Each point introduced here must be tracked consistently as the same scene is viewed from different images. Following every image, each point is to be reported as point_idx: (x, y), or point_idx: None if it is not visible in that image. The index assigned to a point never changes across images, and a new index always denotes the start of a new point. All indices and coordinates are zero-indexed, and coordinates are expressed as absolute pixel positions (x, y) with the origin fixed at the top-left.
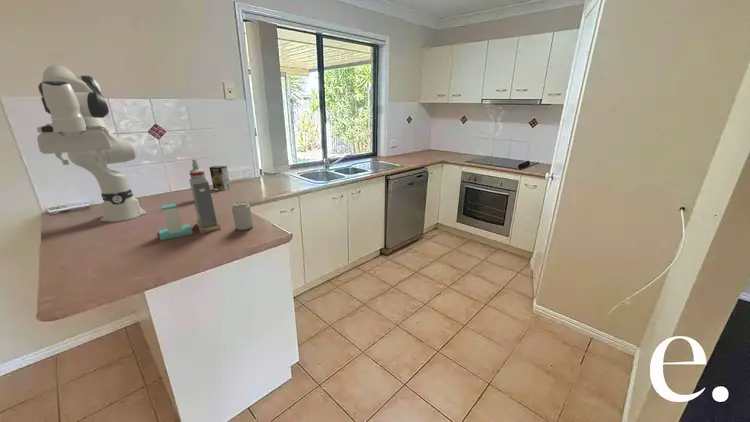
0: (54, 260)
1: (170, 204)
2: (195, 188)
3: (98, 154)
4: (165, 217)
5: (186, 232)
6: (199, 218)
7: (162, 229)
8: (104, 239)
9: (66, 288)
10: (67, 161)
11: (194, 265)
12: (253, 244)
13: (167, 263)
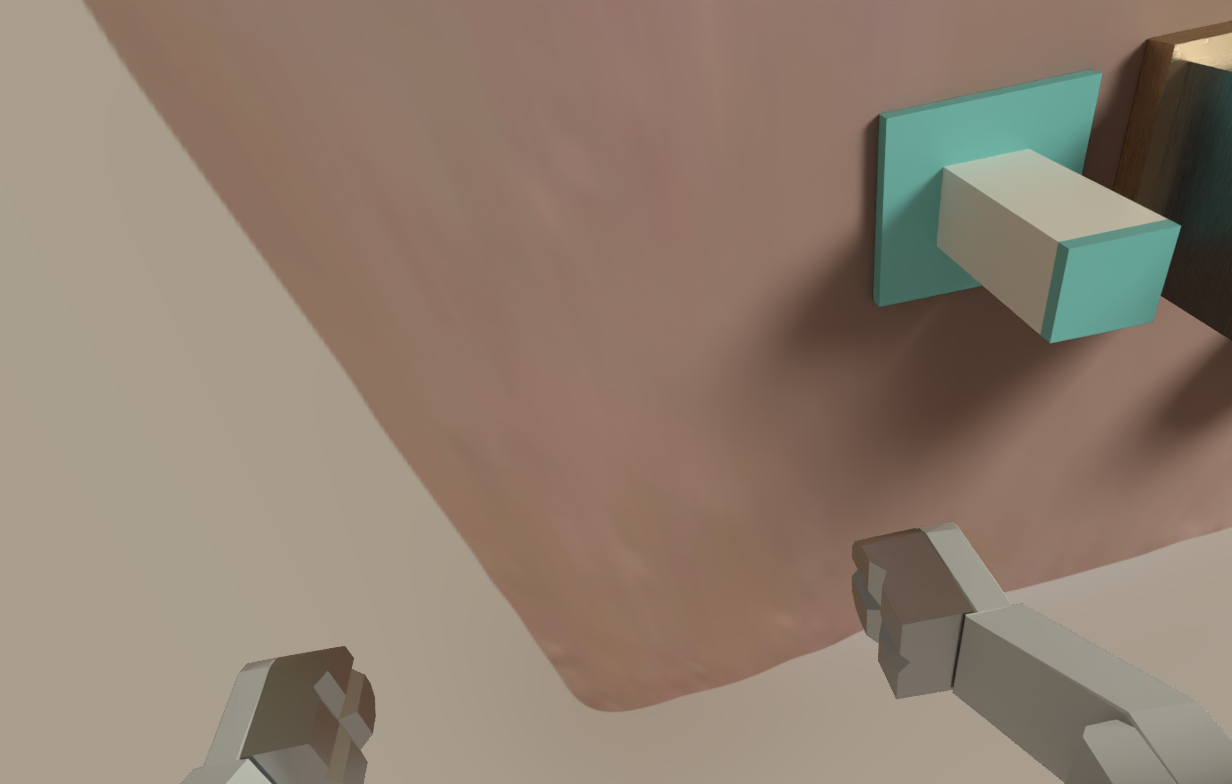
0: (365, 348)
1: (1136, 246)
2: None
3: (1044, 764)
4: (1006, 302)
5: None
6: (1189, 222)
7: (910, 114)
8: (512, 76)
9: (577, 614)
10: (365, 767)
11: None
12: (1196, 520)
13: None
